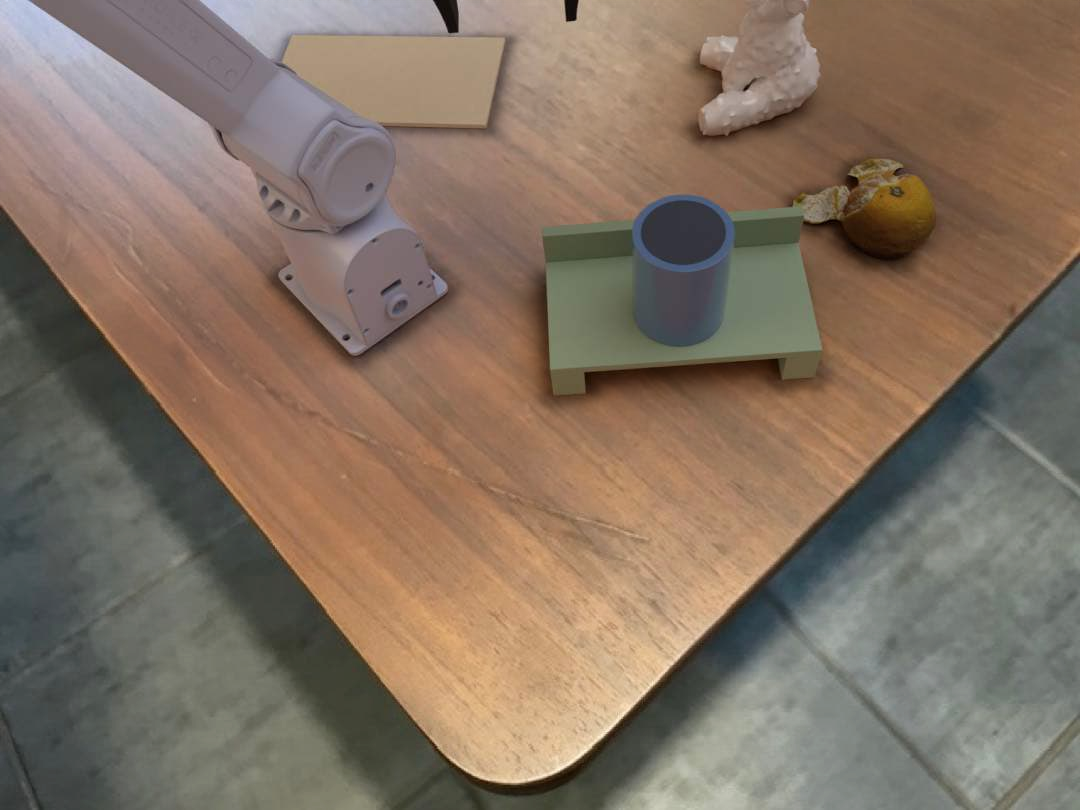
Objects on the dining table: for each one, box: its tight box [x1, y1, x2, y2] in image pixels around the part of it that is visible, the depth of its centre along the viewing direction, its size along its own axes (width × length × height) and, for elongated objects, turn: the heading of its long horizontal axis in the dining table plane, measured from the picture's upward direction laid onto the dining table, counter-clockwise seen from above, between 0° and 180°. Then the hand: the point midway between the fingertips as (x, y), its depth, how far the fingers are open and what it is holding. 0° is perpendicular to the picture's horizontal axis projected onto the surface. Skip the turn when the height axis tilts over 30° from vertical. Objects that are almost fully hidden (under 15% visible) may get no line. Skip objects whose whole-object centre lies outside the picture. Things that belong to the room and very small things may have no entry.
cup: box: [632, 194, 735, 347], centre depth 56 cm, size 6×6×7 cm
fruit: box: [791, 158, 937, 259], centre depth 63 cm, size 8×8×4 cm
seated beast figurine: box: [697, 0, 822, 137], centre depth 67 cm, size 10×9×12 cm
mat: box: [281, 34, 507, 129], centre depth 76 cm, size 18×10×1 cm, turn 83°
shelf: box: [541, 206, 823, 397], centre depth 59 cm, size 9×16×6 cm, turn 92°
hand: (511, 17), depth 63 cm, fingers open, 7 cm apart
